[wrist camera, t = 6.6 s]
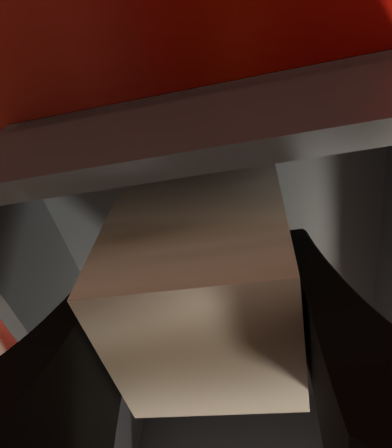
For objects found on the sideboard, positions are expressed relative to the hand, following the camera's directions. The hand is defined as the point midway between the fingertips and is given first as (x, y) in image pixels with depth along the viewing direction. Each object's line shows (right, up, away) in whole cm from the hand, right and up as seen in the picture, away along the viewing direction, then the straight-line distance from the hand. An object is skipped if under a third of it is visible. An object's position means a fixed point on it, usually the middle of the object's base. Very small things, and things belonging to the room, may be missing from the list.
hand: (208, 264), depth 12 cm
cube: (0, +1, +1) cm, 2 cm away
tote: (+1, -1, +5) cm, 5 cm away
